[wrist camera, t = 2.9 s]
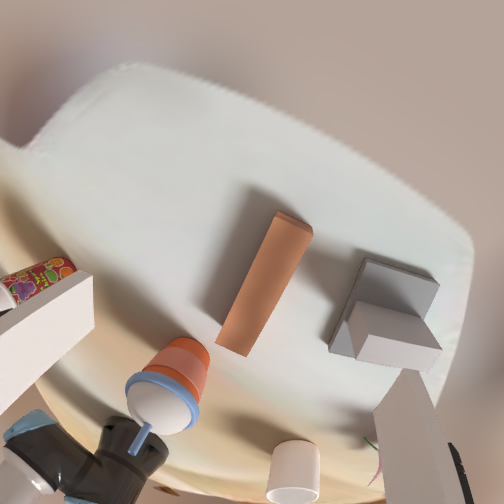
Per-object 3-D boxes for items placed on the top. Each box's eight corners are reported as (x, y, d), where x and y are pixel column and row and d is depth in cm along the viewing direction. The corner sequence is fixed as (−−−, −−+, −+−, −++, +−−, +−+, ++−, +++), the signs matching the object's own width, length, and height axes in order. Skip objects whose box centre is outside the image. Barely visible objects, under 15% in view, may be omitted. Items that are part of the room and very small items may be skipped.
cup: (320, 437, 39) (319, 486, 30) (318, 469, 43) (316, 511, 33) (271, 438, 41) (263, 486, 31) (276, 470, 44) (269, 511, 34)
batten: (223, 325, 36) (214, 342, 32) (277, 209, 30) (274, 216, 27) (251, 338, 36) (246, 357, 32) (311, 226, 30) (313, 234, 27)
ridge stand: (327, 345, 34) (332, 391, 26) (364, 257, 30) (384, 288, 22) (394, 359, 33) (410, 402, 25) (435, 280, 29) (467, 312, 21)
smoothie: (94, 290, 38) (-3, 362, 19) (67, 305, 40) (-17, 368, 21) (69, 240, 36) (-39, 291, 17) (44, 261, 38) (-48, 310, 19)
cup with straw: (218, 385, 39) (178, 486, 22) (161, 369, 40) (104, 456, 23) (222, 336, 36) (171, 446, 19) (158, 320, 37) (82, 409, 20)
